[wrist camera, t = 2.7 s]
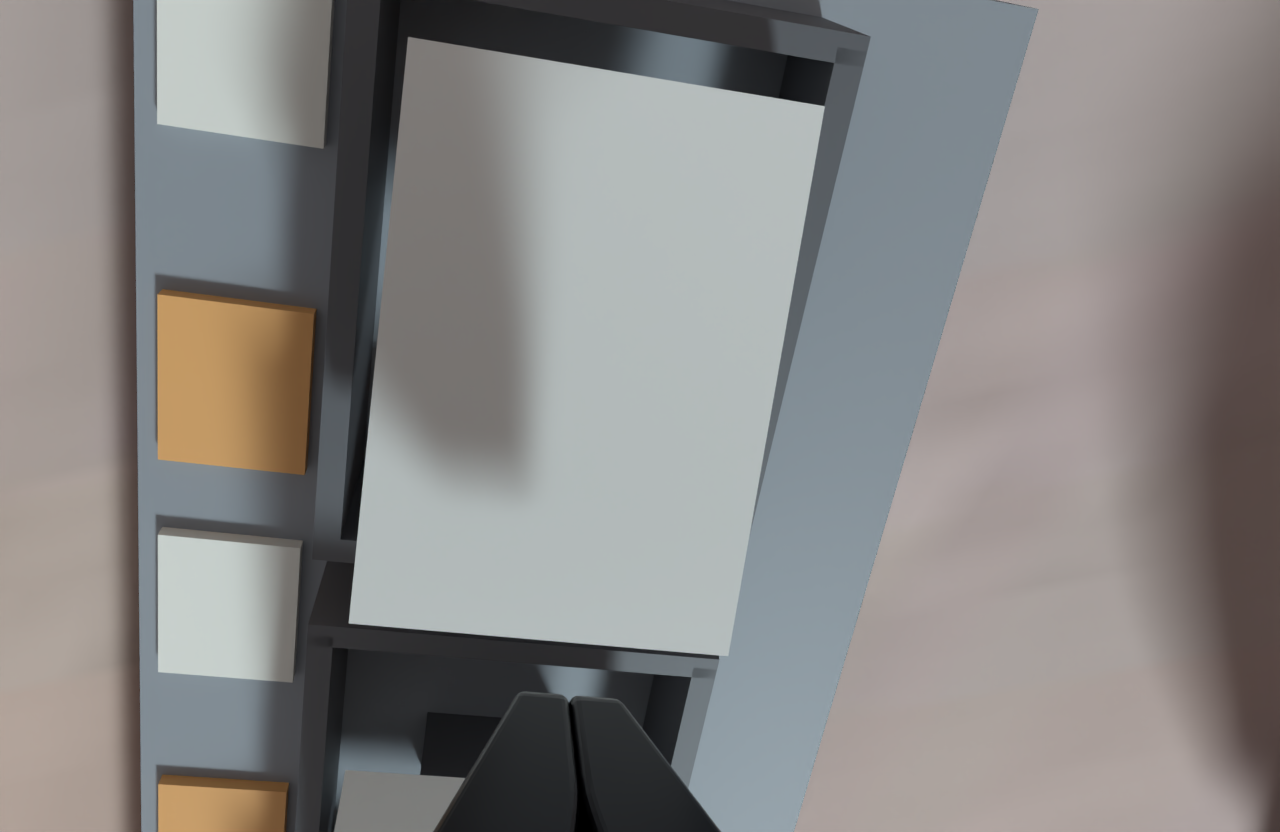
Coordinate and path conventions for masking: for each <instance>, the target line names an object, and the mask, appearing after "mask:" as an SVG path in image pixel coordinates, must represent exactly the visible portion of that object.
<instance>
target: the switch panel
mask: <svg viewBox="0 0 1280 832" xmlns="http://www.w3.org/2000/svg"><path fill="white" fill-rule="evenodd" d="M1037 13H1038V9H1035V8H1030V7H1025V6H1021V5H1016V4H1011V3H1007V2H1002V1H997V0H133V25H134V128H135V231H136V334H137V436H138V539H139V642H140V745H141V832H334V830H335V824H336V819H337V813H338V808H339V803H340V797H341V792H342V786H343V781H344V775H345V770H352V771H367V772H382V773H397V774H412V775H427V776H442V777H457V778H466V776H467V775H468V773H469V771H470V770H471V768H472V766H473V765H474V763H475V762H476V760H477V758H478V757H479V755H480V753H481V752H482V750H483V748H484V747H485V745H486V743H487V742H488V740H489V738H490V737H491V735H492V733H493V732H494V730H495V729H496V727H497V725H498V724H499V722H500V720H501V719H502V717H503V715H504V714H505V712H506V710H507V709H508V707H509V705H510V704H511V702H512V700H513V699H514V697H515V696H516V695H517V694H518V693H520V692H524V691H527V692H540V693H552V694H561V695H563V696H565V697H566V698H567V700H568V702H570V700H571V699H572V698H573V697H575V696H589V697H602V698H613V699H618V700H619V701H621V702H622V703H623V704H624V705H625V706H626V708H627V709H628V710H629V712H630V713H631V714H632V716H633V717H634V718H635V719H636V721H637V722H638V723H639V725H640V726H641V727H642V729H643V730H644V731H645V733H646V734H647V735H648V736H649V738H650V739H651V740H652V742H653V743H654V744H655V746H656V747H657V748H658V750H659V751H660V752H661V754H662V755H663V756H664V757H665V759H666V760H667V761H668V763H669V764H670V765H671V767H672V768H673V769H674V771H675V772H676V773H677V775H678V776H679V777H680V778H681V780H682V781H683V782H684V784H685V785H686V786H687V788H688V789H689V790H690V792H691V793H692V794H693V796H694V797H695V798H696V799H697V801H698V802H699V803H700V805H701V806H702V807H703V809H704V810H705V811H706V813H707V814H708V815H709V817H710V818H711V819H712V820H713V822H714V823H715V824H716V826H717V827H718V828H719V830H720V831H721V832H794V829H795V826H796V823H797V819H798V816H799V813H800V809H801V806H802V802H803V799H804V796H805V792H806V789H807V786H808V782H809V779H810V776H811V772H812V769H813V765H814V762H815V759H816V755H817V752H818V749H819V745H820V742H821V739H822V735H823V732H824V728H825V725H826V722H827V718H828V715H829V712H830V708H831V705H832V702H833V698H834V695H835V692H836V688H837V685H838V681H839V678H840V675H841V671H842V668H843V665H844V661H845V658H846V655H847V651H848V648H849V644H850V641H851V638H852V634H853V631H854V628H855V624H856V621H857V618H858V614H859V611H860V608H861V604H862V601H863V597H864V594H865V591H866V587H867V584H868V581H869V577H870V574H871V571H872V567H873V564H874V560H875V557H876V554H877V550H878V547H879V544H880V540H881V537H882V534H883V530H884V527H885V523H886V520H887V517H888V513H889V510H890V507H891V503H892V500H893V497H894V493H895V490H896V487H897V483H898V480H899V476H900V473H901V470H902V466H903V463H904V460H905V456H906V453H907V450H908V446H909V443H910V439H911V436H912V433H913V429H914V426H915V423H916V419H917V416H918V413H919V409H920V406H921V402H922V399H923V396H924V392H925V389H926V386H927V382H928V379H929V376H930V372H931V369H932V366H933V362H934V359H935V355H936V352H937V349H938V345H939V342H940V339H941V335H942V332H943V329H944V325H945V322H946V318H947V315H948V312H949V308H950V305H951V302H952V298H953V295H954V292H955V288H956V285H957V282H958V278H959V275H960V271H961V268H962V265H963V261H964V258H965V255H966V251H967V248H968V245H969V241H970V238H971V234H972V231H973V228H974V224H975V221H976V218H977V214H978V211H979V208H980V204H981V201H982V197H983V194H984V191H985V187H986V184H987V181H988V177H989V174H990V171H991V167H992V164H993V161H994V157H995V154H996V150H997V147H998V144H999V140H1000V137H1001V134H1002V130H1003V127H1004V124H1005V120H1006V117H1007V113H1008V110H1009V107H1010V103H1011V100H1012V97H1013V93H1014V90H1015V87H1016V83H1017V80H1018V77H1019V73H1020V70H1021V66H1022V63H1023V60H1024V56H1025V53H1026V50H1027V46H1028V43H1029V40H1030V36H1031V33H1032V29H1033V26H1034V23H1035V19H1036V16H1037ZM408 37H412V38H418V39H424V40H430V41H436V42H442V43H448V44H454V45H460V46H466V47H472V48H478V49H484V50H490V51H496V52H502V53H508V54H514V55H520V56H526V57H532V58H538V59H544V60H550V61H556V62H562V63H568V64H574V65H580V66H586V67H592V68H598V69H604V70H610V71H616V72H622V73H628V74H634V75H640V76H646V77H652V78H658V79H664V80H670V81H676V82H682V83H688V84H694V85H700V86H706V87H712V88H718V89H724V90H730V91H736V92H742V93H748V94H754V95H760V96H766V97H772V98H778V99H784V100H790V101H796V102H802V103H808V104H814V105H820V106H825V109H824V114H823V120H822V126H821V131H820V137H819V143H818V149H817V154H816V160H815V166H814V171H813V177H812V183H811V188H810V194H809V200H808V205H807V211H806V217H805V222H804V228H803V234H802V240H801V245H800V251H799V257H798V262H797V268H796V274H795V279H794V285H793V291H792V296H791V302H790V308H789V313H788V319H787V325H786V331H785V336H784V342H783V348H782V353H781V359H780V365H779V370H778V376H777V382H776V387H775V393H774V399H773V404H772V410H771V416H770V422H769V427H768V433H767V439H766V444H765V450H764V456H763V461H762V467H761V473H760V478H759V484H758V490H757V496H756V501H755V507H754V513H753V518H752V524H751V530H750V535H749V541H748V547H747V552H746V558H745V564H744V569H743V575H742V581H741V587H740V592H739V598H738V604H737V609H736V615H735V621H734V626H733V632H732V638H731V643H730V649H729V655H728V656H719V655H708V654H696V653H685V652H673V651H662V650H650V649H638V648H627V647H615V646H604V645H592V644H581V643H569V642H557V641H546V640H534V639H523V638H511V637H500V636H488V635H476V634H465V633H453V632H442V631H430V630H419V629H407V628H395V627H384V626H372V625H361V624H349V614H350V604H351V595H352V585H353V575H354V565H355V555H356V545H357V536H358V526H359V516H360V506H361V496H362V486H363V476H364V467H365V457H366V447H367V437H368V427H369V417H370V407H371V398H372V388H373V378H374V368H375V358H376V348H377V338H378V329H379V319H380V309H381V299H382V289H383V279H384V269H385V260H386V250H387V240H388V230H389V220H390V210H391V201H392V191H393V181H394V171H395V161H396V151H397V141H398V132H399V122H400V112H401V102H402V92H403V82H404V72H405V63H406V53H407V43H408Z"/></svg>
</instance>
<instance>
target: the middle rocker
mask: <svg viewBox="0 0 1280 832" xmlns="http://www.w3.org/2000/svg"><path fill="white" fill-rule="evenodd" d="M464 780H465V778H457V777H442V776H427V775H412V774H397V773H382V772H367V771H352V770H345V775H344V781H343V786H342V792H341V797H340V803H339V808H338V813H337V819H336V824H335V830H334V832H433V831H434V829H435V828H436V826H437V824H438V823H439V821H440V819H441V818H442V816H443V814H444V813H445V811H446V809H447V808H448V806H449V804H450V803H451V801H452V799H453V798H454V796H455V795H456V793H457V791H458V790H459V788H460V786H461V785H462V783H463V781H464Z"/></svg>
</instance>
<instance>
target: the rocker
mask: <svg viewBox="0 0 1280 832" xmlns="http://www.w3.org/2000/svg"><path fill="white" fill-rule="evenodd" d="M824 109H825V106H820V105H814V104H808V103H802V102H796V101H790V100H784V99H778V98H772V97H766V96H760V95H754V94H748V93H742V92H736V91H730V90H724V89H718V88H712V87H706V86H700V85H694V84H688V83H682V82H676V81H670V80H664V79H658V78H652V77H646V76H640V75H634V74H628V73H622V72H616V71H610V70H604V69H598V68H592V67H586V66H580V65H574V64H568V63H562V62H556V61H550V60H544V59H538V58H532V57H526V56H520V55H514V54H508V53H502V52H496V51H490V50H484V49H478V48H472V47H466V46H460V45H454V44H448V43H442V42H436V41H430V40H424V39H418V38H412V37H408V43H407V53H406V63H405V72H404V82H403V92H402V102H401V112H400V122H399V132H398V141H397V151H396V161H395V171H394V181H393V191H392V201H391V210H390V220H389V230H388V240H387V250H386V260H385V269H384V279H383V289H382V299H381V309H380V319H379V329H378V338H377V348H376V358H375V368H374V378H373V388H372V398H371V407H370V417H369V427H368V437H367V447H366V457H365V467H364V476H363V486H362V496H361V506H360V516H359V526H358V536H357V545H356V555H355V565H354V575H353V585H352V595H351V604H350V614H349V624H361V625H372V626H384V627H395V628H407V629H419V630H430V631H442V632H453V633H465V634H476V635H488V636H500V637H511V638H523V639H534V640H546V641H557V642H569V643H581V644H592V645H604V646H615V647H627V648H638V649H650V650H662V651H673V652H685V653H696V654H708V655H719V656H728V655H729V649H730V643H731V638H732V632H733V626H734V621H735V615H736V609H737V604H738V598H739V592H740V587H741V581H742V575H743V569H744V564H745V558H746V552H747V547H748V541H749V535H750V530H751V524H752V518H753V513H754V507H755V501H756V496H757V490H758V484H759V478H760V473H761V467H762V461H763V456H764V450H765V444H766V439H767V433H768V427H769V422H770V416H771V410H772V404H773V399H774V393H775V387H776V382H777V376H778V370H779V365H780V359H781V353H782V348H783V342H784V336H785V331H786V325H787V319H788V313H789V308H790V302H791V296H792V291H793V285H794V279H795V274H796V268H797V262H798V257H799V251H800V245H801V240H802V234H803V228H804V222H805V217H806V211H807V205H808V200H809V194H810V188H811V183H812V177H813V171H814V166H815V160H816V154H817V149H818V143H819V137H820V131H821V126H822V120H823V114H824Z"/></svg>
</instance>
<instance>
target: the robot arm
mask: <svg viewBox="0 0 1280 832" xmlns="http://www.w3.org/2000/svg"><path fill="white" fill-rule="evenodd" d="M433 832H721V831H720V830H719V828H718V827H717V826H716V824H715V823H714V822H713V820H712V819H711V818H710V817H709V815H708V814H707V813H706V811H705V810H704V809H703V807H702V806H701V805H700V803H699V802H698V801H697V799H696V798H695V797H694V796H693V794H692V793H691V792H690V790H689V789H688V788H687V786H686V785H685V784H684V782H683V781H682V780H681V778H680V777H679V776H678V775H677V773H676V772H675V771H674V769H673V768H672V767H671V765H670V764H669V763H668V761H667V760H666V759H665V757H664V756H663V755H662V754H661V752H660V751H659V750H658V748H657V747H656V746H655V744H654V743H653V742H652V740H651V739H650V738H649V736H648V735H647V734H646V733H645V731H644V730H643V729H642V727H641V726H640V725H639V723H638V722H637V721H636V719H635V718H634V717H633V716H632V714H631V713H630V712H629V710H628V709H627V708H626V706H625V705H624V704H623V703H622V702H621V701H619V700H618V699H613V698H602V697H589V696H575V697H573V698H572V699H571V700H570V702H568V700H567V698H566V697H565V696H563V695H561V694H552V693H540V692H527V691H524V692H520V693H518V694H517V695H516V696H515V697H514V699H513V700H512V702H511V704H510V705H509V707H508V709H507V710H506V712H505V714H504V715H503V717H502V719H501V720H500V722H499V724H498V725H497V727H496V729H495V730H494V732H493V733H492V735H491V737H490V738H489V740H488V742H487V743H486V745H485V747H484V748H483V750H482V752H481V753H480V755H479V757H478V758H477V760H476V762H475V763H474V765H473V766H472V768H471V770H470V771H469V773H468V775H467V776H466V778H465V780H464V781H463V783H462V785H461V786H460V788H459V790H458V791H457V793H456V795H455V796H454V798H453V799H452V801H451V803H450V804H449V806H448V808H447V809H446V811H445V813H444V814H443V816H442V818H441V819H440V821H439V823H438V824H437V826H436V828H435V829H434V831H433Z"/></svg>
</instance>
